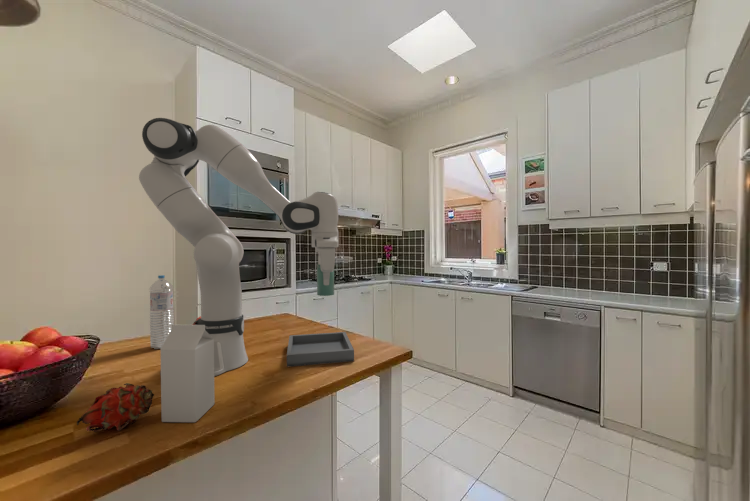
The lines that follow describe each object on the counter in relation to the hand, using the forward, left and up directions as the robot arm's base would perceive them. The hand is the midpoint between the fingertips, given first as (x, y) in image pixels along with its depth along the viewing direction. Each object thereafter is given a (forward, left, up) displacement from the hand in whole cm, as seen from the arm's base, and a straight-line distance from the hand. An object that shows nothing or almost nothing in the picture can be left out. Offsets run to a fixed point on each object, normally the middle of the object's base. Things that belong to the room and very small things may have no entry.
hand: (325, 283), depth 103 cm
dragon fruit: (-43, -33, -23) cm, 59 cm away
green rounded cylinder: (0, 0, -4) cm, 4 cm away
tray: (-2, 0, -23) cm, 23 cm away
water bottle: (-56, +19, -23) cm, 63 cm away
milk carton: (-31, -31, -23) cm, 50 cm away
